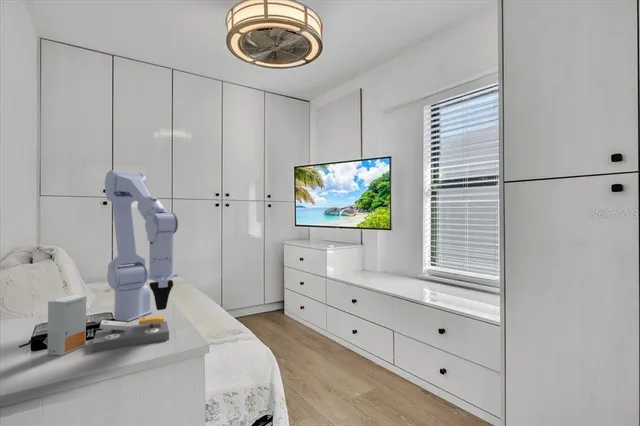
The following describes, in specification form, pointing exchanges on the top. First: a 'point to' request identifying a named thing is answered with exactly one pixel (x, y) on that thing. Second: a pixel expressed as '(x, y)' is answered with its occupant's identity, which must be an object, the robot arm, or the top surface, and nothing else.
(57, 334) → the skincare box
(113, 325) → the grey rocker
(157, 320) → the amber rocker
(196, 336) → the top surface
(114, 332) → the power strip
